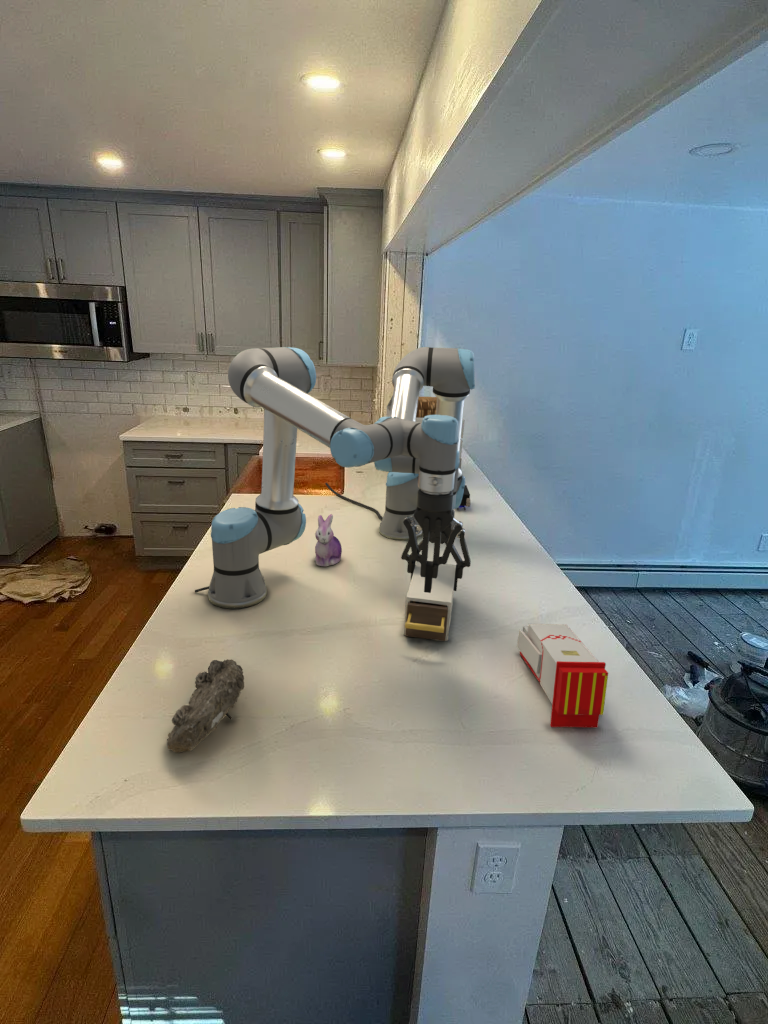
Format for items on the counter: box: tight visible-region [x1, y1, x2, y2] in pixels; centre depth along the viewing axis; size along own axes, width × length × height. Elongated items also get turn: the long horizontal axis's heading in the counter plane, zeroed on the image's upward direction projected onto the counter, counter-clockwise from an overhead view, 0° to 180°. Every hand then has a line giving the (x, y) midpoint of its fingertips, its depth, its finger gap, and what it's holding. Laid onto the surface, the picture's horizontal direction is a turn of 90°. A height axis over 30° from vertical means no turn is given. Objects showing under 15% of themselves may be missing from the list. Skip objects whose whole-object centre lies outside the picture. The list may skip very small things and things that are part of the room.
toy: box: [516, 623, 609, 728], centre depth 121 cm, size 12×13×30 cm
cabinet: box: [403, 561, 456, 642], centre depth 145 cm, size 21×11×10 cm, turn 170°
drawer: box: [404, 601, 448, 642], centre depth 140 cm, size 26×10×8 cm, turn 170°
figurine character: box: [456, 484, 471, 512], centre depth 229 cm, size 7×8×15 cm
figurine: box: [314, 513, 343, 567], centre depth 173 cm, size 9×10×15 cm
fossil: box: [166, 658, 245, 754], centre depth 106 cm, size 22×10×15 cm
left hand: (427, 589), depth 127 cm, fingers closed
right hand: (433, 586), depth 151 cm, fingers closed on cabinet, 11 cm apart
